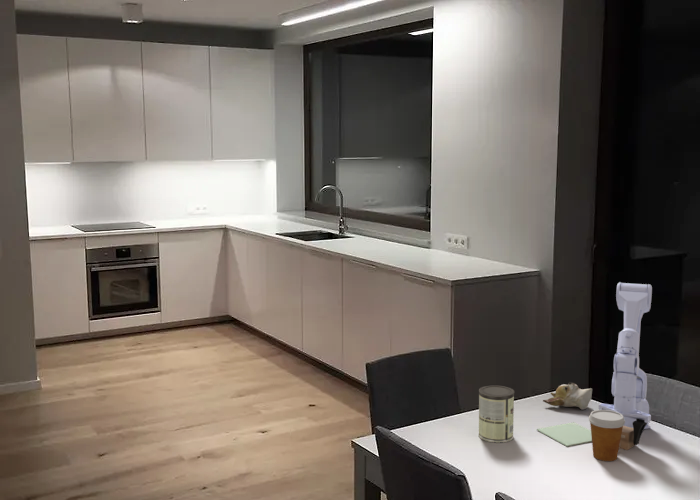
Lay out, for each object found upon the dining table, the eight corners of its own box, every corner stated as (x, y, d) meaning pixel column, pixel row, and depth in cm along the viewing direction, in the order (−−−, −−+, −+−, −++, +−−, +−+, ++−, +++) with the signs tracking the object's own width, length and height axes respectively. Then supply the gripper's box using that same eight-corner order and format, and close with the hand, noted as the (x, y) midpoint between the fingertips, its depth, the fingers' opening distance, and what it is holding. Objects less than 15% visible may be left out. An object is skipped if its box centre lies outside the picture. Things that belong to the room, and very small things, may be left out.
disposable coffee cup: (616, 466, 204) (618, 423, 202) (582, 458, 209) (583, 416, 208) (628, 455, 211) (629, 413, 210) (594, 447, 217) (595, 406, 215)
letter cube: (618, 440, 222) (619, 424, 221) (635, 445, 218) (635, 428, 218) (610, 445, 218) (611, 429, 217) (627, 450, 215) (628, 433, 214)
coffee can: (476, 429, 231) (477, 384, 229) (511, 430, 230) (512, 385, 228) (479, 442, 221) (480, 395, 219) (515, 443, 220) (516, 396, 218)
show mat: (573, 423, 236) (573, 422, 236) (605, 439, 223) (605, 437, 223) (536, 430, 230) (536, 429, 230) (566, 446, 218) (566, 445, 217)
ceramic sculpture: (588, 388, 242) (541, 384, 250) (588, 414, 243) (542, 409, 251) (595, 379, 251) (550, 375, 259) (596, 405, 252) (551, 400, 260)
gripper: (594, 392, 218) (592, 437, 220) (644, 403, 208) (642, 451, 210) (605, 386, 223) (603, 431, 225) (654, 397, 214) (652, 444, 215)
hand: (623, 440), depth 218 cm, fingers open, 7 cm apart
